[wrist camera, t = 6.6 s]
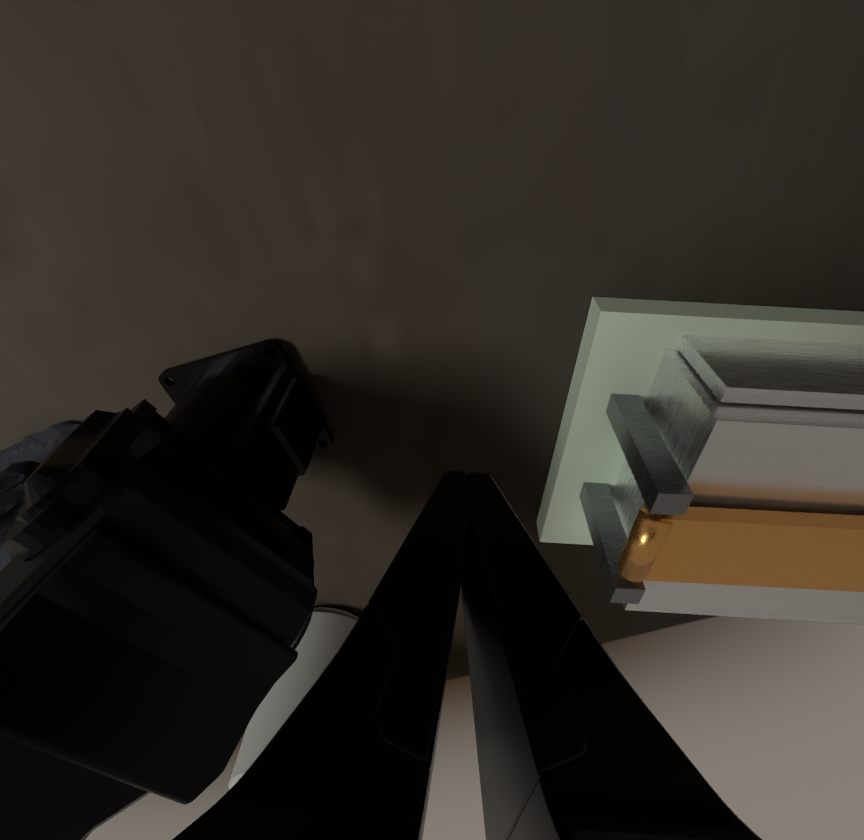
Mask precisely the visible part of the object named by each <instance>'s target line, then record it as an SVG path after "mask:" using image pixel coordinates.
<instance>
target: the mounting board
mask: <svg viewBox="0 0 864 840" xmlns="http://www.w3.org/2000/svg"><path fill="white" fill-rule="evenodd" d="M682 335H700V336H718V337H736V338H755V339H773V340H791V341H809V342H827V343H845V344H863V345H864V312H862V311H844V310H826V309H807V308H789V307H771V306H752V305H734V304H716V303H697V302H679V301H660V300H642V299H624V298H605V297H592V301H591V305H590V309H589V313H588V317H587V321H586V325H585V329H584V333H583V337H582V341H581V345H580V349H579V353H578V357H577V361H576V365H575V369H574V373H573V377H572V381H571V385H570V389H569V393H568V397H567V401H566V405H565V409H564V413H563V417H562V421H561V425H560V429H559V433H558V437H557V441H556V445H555V449H554V453H553V457H552V461H551V465H550V469H549V473H548V477H547V481H546V485H545V489H544V493H543V497H542V501H541V505H540V509H539V513H538V517H537V521H536V522H537V528H538V534H539V540H540V542H549V543H566V544H582V545H593V542H592V539H591V535H590V532H589V528H588V525H587V521H586V518H585V514H584V511H583V507H582V504H581V500H580V497H579V495H580V492H581V489H582V486H583V483H584V482H591V483H607V484H608V487H609V490H610V492H611V494H612V491H613V488H614V486H615V483H616V480H617V477H618V475H619V472H620V469H621V466H622V464H623V461H624V458H625V455H624V453H623V451H622V448H621V446H620V444H619V442H618V439H617V437H616V435H615V432H614V430H613V428H612V425H611V423H610V421H609V418H608V416H607V414H606V409H607V406H608V403H609V399H610V396H611V393H612V394H630V395H639V397H640V399H641V400H642V402H643V404H645V401H646V398H647V396H648V393H649V390H650V387H651V385H652V382H653V379H654V377H655V374H656V371H657V368H658V366H659V363H660V360H661V357H662V355H663V352H664V349H670V350H679V349H678V345H679V342H680V340H681V337H682Z"/></svg>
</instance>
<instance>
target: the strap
mask: <svg viewBox="0 0 864 840" xmlns="http://www.w3.org/2000/svg"><path fill="white" fill-rule="evenodd" d="M616 567H617V570H618V572H619V574H620V575H621V576H622V577H624V578H625V579H627V580H629V581H632V582H642V581H663V582H682V583H700V584H719V585H738V586H757V587H775V588H794V589H813V590H832V591H850V592H864V516H859V515H840V514H821V513H802V512H783V511H764V510H745V509H727V508H708V507H688V509H687V510H686V512H685V514H684V516H683V515H666V514H650V513H649V511H648V508H647V506H646V504H644V505H642V506H641V507H640V509H639V512H638V514H637V516H636V519H635V521H634V524H633V526H632V528H631V531H630V533H629V535H628V538H627V540H626V542H625V545H624V547H623V549H622V552H621V554H620V556H619V559H618V561H617V564H616Z"/></svg>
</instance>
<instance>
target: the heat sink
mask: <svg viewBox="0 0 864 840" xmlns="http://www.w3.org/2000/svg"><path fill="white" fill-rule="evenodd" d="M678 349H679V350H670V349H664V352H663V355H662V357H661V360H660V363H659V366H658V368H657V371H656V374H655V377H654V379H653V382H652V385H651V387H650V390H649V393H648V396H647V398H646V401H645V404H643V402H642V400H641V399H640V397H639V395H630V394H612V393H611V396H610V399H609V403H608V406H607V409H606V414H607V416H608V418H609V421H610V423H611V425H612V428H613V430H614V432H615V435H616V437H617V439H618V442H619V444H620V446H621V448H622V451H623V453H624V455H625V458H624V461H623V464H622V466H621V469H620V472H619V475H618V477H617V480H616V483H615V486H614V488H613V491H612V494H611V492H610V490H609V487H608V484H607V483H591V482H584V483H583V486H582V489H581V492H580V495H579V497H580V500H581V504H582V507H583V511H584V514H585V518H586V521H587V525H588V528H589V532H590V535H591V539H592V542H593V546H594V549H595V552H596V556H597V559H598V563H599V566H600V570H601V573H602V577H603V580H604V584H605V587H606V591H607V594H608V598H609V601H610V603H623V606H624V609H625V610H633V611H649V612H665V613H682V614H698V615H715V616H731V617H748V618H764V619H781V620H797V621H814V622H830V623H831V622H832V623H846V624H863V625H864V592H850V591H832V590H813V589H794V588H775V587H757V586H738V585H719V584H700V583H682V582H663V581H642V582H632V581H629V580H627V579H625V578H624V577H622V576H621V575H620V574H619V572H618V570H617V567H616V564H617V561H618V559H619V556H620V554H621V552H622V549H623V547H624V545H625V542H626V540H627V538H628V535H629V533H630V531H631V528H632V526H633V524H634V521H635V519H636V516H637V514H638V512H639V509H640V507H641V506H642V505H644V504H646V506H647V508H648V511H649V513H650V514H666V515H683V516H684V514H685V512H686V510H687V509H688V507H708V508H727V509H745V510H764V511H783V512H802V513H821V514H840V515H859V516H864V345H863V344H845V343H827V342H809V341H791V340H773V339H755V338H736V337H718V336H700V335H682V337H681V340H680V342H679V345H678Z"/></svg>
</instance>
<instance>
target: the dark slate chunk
mask: <svg viewBox="0 0 864 840" xmlns="http://www.w3.org/2000/svg"><path fill="white" fill-rule="evenodd" d="M79 425H80V424H78V423H74V422H60V423H58V424H54V425H52V426H50V427H49V429H48V430H47V431H45V432H40V433H34V434H31V435H29V436H26V437H25V438H24V439H23V440H22V441H21V442H20V443H17V444H14V445H13V446H12V447H10V448H8V449H5V450H2V451H0V571H1V570H2V569H3V568H4V567H5V566H6V565H7V564H8V563H9V562H10V561H11V560H12V559H13V558H14V557H15V556H16V555H17V554H18V553H16V552H15V551H13V550H11V549H9V548H7V547H6V546H4V545H2V544H1V543H2V541H3V539H4V538H5V536H6V535H7V533H8V531H9V530H10V528H11V527H12V525H13V524H14V522H15V520H16V517H17V515H18V513H19V511H20V510H21V508H22V507H23V506H24V505H25V490H24V482H25V480H26V479H27V478H28V477H29V476H30V475H31V474H32V473H33V472H34V471H35V468H34V466H33V465H34V461H36V462H43V461H44V459H45V458H46V457H47V456H48V455H49V454H50V453H51V452H52V451H53V450H54V449H55V448H56V447H57V446H58V445H59V444H60V443H61V442H62V441H63V440H64V439H65V438H66V437H67V436H68V435H69V434H70V433H71V432H73V431H74V430H75V429H76V428H77V427H78V426H79Z"/></svg>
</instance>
